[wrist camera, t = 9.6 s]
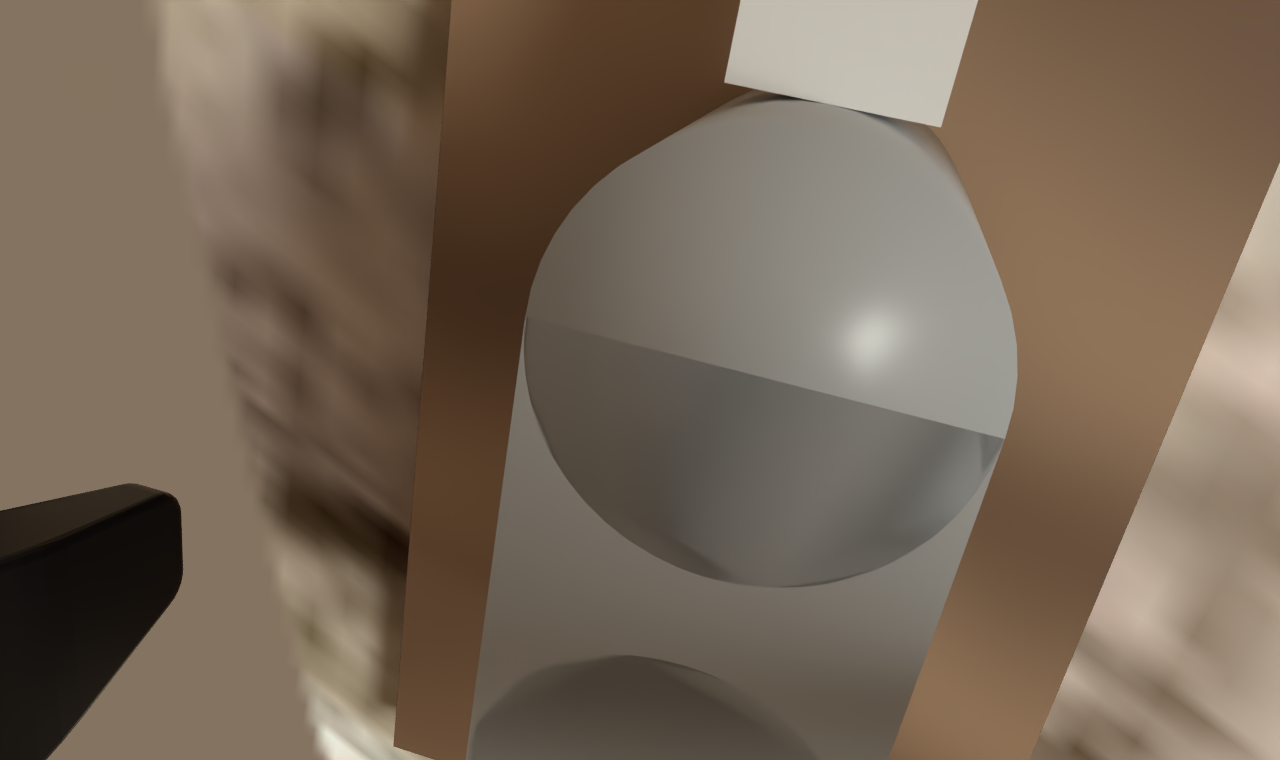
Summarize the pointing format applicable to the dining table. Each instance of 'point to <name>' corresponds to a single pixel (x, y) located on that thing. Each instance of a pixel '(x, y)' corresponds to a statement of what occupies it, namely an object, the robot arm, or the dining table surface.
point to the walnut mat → (1016, 237)
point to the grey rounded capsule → (752, 415)
